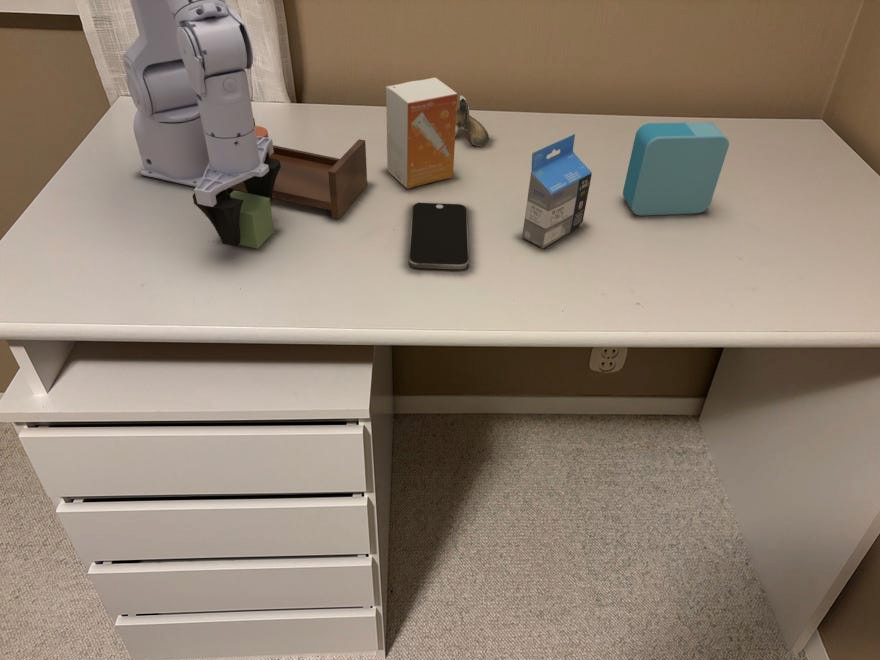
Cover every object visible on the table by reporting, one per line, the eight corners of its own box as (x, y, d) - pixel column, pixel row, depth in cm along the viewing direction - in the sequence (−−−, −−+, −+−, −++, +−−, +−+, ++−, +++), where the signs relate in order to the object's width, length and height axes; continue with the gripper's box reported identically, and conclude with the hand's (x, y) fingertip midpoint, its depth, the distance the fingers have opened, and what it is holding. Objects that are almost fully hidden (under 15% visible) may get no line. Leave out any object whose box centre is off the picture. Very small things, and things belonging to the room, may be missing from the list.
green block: (222, 241, 93) (215, 206, 89) (240, 223, 96) (234, 190, 92) (258, 249, 92) (252, 214, 88) (274, 231, 95) (269, 197, 92)
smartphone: (467, 203, 102) (469, 265, 91) (466, 208, 102) (469, 270, 91) (412, 201, 101) (407, 263, 90) (412, 206, 102) (407, 268, 91)
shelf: (338, 219, 98) (335, 172, 93) (219, 193, 101) (209, 146, 96) (367, 185, 105) (365, 140, 101) (255, 161, 108) (248, 116, 104)
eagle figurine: (423, 127, 118) (459, 137, 112) (437, 83, 116) (475, 92, 111) (454, 142, 124) (491, 153, 118) (468, 101, 122) (506, 109, 117)
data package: (695, 197, 109) (718, 121, 101) (708, 213, 106) (732, 136, 98) (620, 200, 107) (637, 122, 99) (630, 216, 104) (648, 137, 96)
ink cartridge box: (542, 250, 96) (555, 164, 88) (520, 238, 98) (531, 153, 89) (583, 226, 101) (598, 143, 93) (561, 215, 103) (574, 132, 94)
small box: (407, 190, 105) (406, 102, 96) (386, 171, 109) (384, 85, 100) (454, 178, 109) (458, 92, 100) (433, 159, 112) (435, 75, 103)
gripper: (227, 161, 78) (246, 265, 87) (290, 109, 88) (301, 206, 98) (168, 149, 79) (193, 253, 88) (237, 99, 90) (253, 196, 99)
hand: (246, 228), depth 93 cm, fingers open, 7 cm apart
